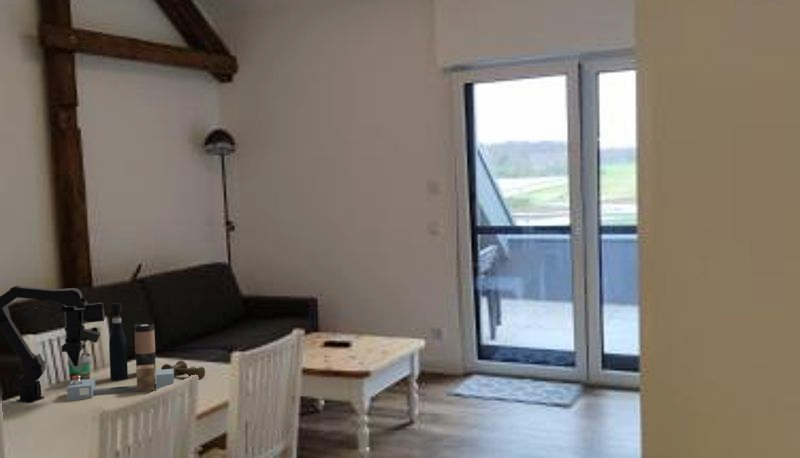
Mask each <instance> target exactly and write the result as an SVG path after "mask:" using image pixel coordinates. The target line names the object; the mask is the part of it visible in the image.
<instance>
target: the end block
mask: <svg viewBox="0 0 800 458" xmlns="http://www.w3.org/2000/svg"><path fill="white" fill-rule="evenodd" d="M173 383H174V384H175V374H174V369H164V370H161V369H156V372H155V384H156V387H157V389H159V388H161V387H164V386H167V385H171V384H173ZM157 389H156V390H157Z"/></svg>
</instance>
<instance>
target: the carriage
mask: <svg viewBox="0 0 800 458" xmlns="http://www.w3.org/2000/svg"><path fill="white" fill-rule="evenodd" d="M135 370H136V385H137V391H136V392H146V391H154V389H155V388H154V385H155V384H156V369H155V370H154V364H152V365H140V366H137V368H136V369H135ZM155 390H156V389H155Z"/></svg>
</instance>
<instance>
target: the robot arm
mask: <svg viewBox="0 0 800 458" xmlns="http://www.w3.org/2000/svg"><path fill="white" fill-rule="evenodd" d="M17 298H19V299H29V300H41V301H51V302H55V303H58V304H61V305H62V307H61V308H60V309H58V313H64V323H65V324H64V325H65V327H64V332H65V339H64V343H63V344H62V345H61V353H66V354H67V355H68V358H69V359H71V361H72V363H73V364H74V366H78V363H79V357H80V356H81V353H82V352H81V351H82V350H83V349H84V347H86V344H83V342H85V343H88V341H89V342H92V343H95V344H97V343H98V341H99V338H100V336H101V332H100V331H99V330H98V329H99V328H98V327H95V326H93V327H92V328H91V329H90V328H85V327H86V326H85V324H84V323H83V321H86V322H87V323H97V322H98V323H99V322H105V319H106V318H105V316H106V314H105V312H106V311H105V309H104V303H103V302H98V303H88V301H87V300H86V299H85V298H84V296H83V293H82V291H81V290H80V289H79V288H77V287H71V288H70V287H69V288H58V289H57V288H56V289H54V288H53V289H52V288H51V289H50V288H39V287H30V286H21V285H14V286H12V287H11V288H9V289H8V290H7V291H6V292H5V293H3V294H2V295H0V329H1V332H2V333H3V335H4V336H5V338H6V339H7V341H8V343H9V344H10V346H11V347H12V349H13V350H14V353H15V354H16V355H17V357H18V359H19V360H20V365H21V368H22V372H23V375H22V376H21V377H20V378H19V379H18V380H17V382H18V387H19V398H18V399H16V402H21V403H28V404H29V403H30V404H31V403H34V402H36V401H39V400H42V399H44V398H45V396H43V395H42V386H41V381H40V378H42V376H43V374H44V373H45V372H46V363H47V362H46V361H45V360H44V359H43V357H42V355H41V353H38V354H37V355H36V354H35V353H33V352H32V351H31V349H30V347H29V345H28V344H27V342H26V341H25V339H24V338H23V336H22V334H21V333H20V331H19V329H18V328H17V326H16V325H15V323H14V322H13V321H12V318H11V314H10V310H9V307H8V305H9V304H11V303H12V302H13V301H15V300H16V299H17Z"/></svg>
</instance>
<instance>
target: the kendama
mask: <svg viewBox="0 0 800 458" xmlns="http://www.w3.org/2000/svg"><path fill="white" fill-rule="evenodd" d="M164 369H174V375H175V374H179V375H182V374H181V373H184V374H183V375H187V376H188V377H189V376H191V375H195V374H196V375H198V377H199V380H202V379H204V377H205V375H206V369H205V367H204V366H199V367H196V366H191V367H188V364H187V363H186V362H185V361H184V360H178V361H177V362H176V363H175V364H174V365H171V364H168V363H165V364H163V365H162V366H161V368H160V370H164Z"/></svg>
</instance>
